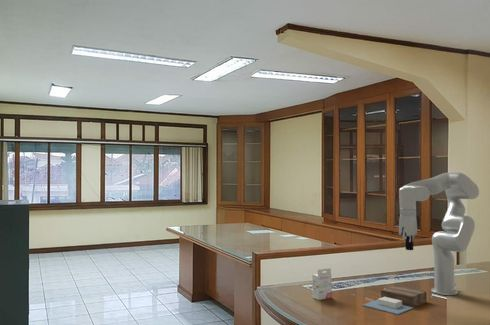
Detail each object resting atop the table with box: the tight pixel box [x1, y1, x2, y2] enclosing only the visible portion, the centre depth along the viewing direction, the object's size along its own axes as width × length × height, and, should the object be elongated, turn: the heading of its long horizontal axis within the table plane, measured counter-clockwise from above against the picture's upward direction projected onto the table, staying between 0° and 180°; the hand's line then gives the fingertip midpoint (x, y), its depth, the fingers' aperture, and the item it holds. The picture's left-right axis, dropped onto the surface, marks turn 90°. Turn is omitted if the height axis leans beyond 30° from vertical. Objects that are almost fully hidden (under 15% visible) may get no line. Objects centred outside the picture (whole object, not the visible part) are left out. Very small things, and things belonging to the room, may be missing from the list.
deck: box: [380, 284, 427, 308], centre depth 213 cm, size 14×16×5 cm
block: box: [377, 297, 402, 309], centre depth 205 cm, size 6×9×2 cm, turn 42°
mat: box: [362, 299, 415, 316], centre depth 203 cm, size 14×18×1 cm
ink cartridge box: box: [311, 267, 333, 301], centre depth 219 cm, size 9×5×15 cm, turn 117°
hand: (409, 249), depth 215 cm, fingers closed
